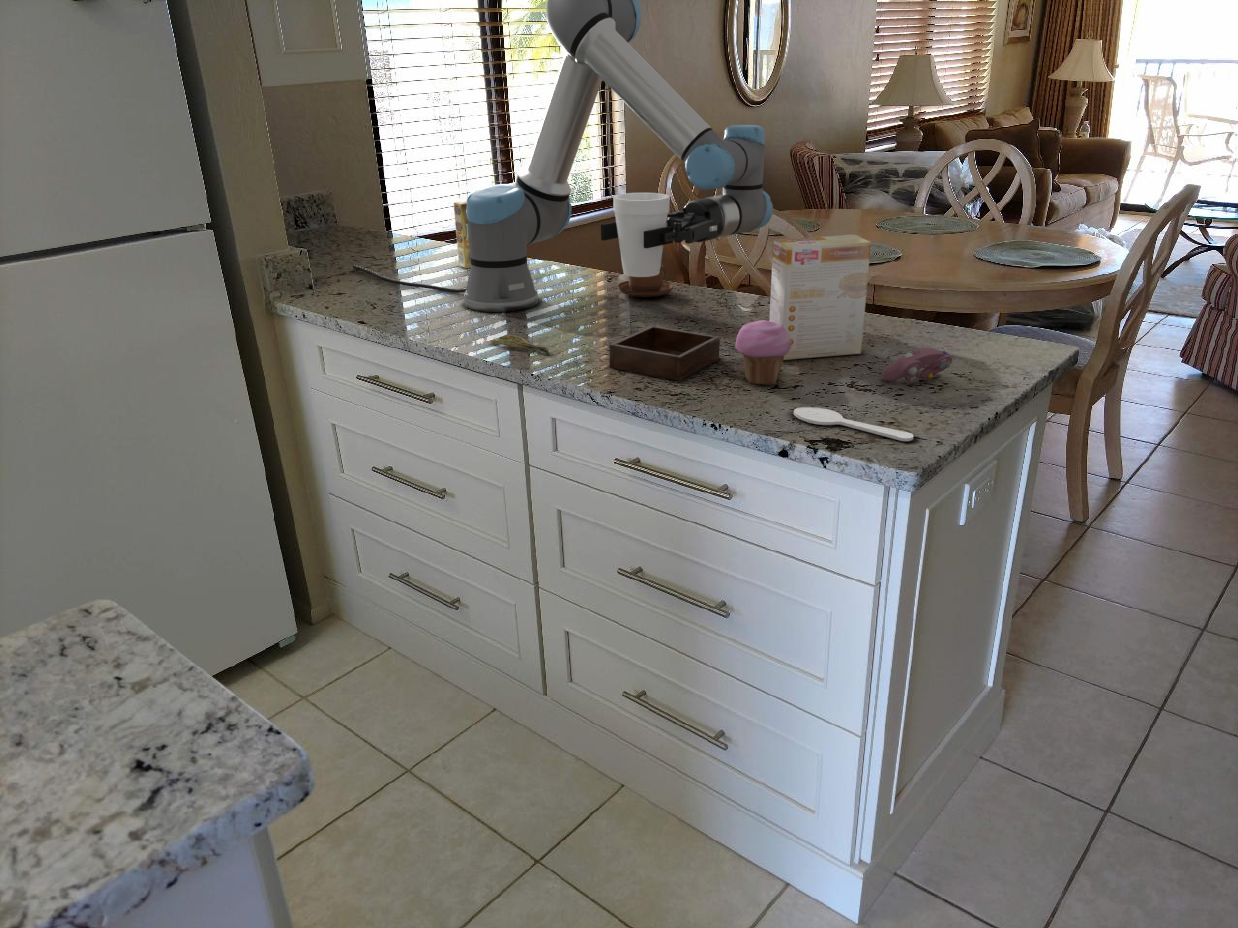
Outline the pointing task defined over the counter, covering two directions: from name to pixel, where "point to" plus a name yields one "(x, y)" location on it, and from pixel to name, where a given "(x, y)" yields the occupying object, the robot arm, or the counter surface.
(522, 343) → the olive green tapered piece
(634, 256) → the foam cup
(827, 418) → the spoon
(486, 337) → the counter surface
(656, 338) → the wooden tray
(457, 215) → the candy box
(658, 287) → the cup and saucer
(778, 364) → the cupcake
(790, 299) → the coffeecake box
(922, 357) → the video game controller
